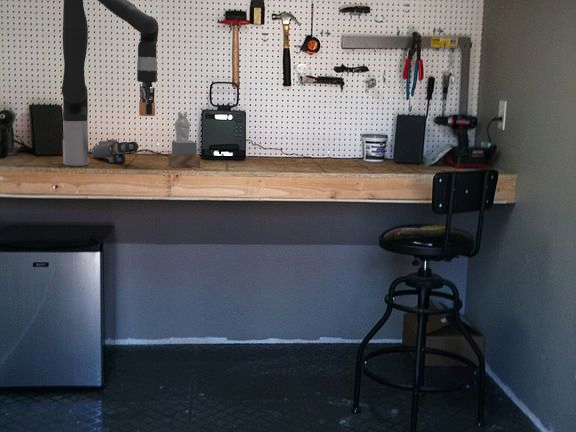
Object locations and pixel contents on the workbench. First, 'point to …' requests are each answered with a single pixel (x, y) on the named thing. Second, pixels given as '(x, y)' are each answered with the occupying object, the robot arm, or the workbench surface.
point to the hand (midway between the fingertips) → (147, 113)
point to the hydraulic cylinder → (114, 150)
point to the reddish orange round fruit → (143, 109)
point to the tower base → (183, 161)
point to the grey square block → (184, 148)
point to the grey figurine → (182, 127)
